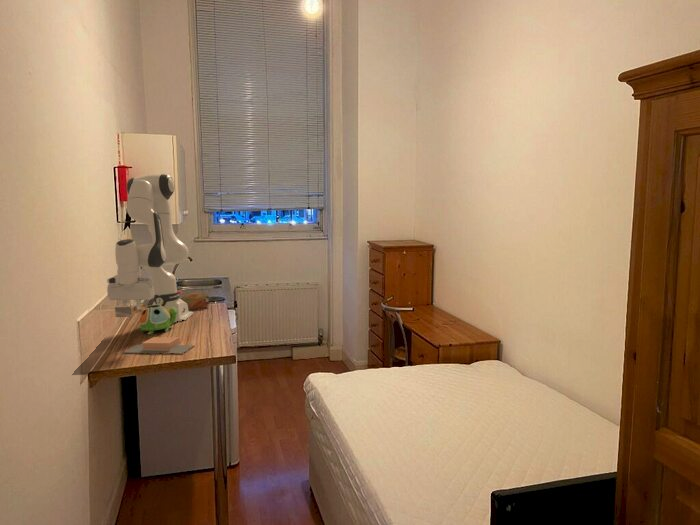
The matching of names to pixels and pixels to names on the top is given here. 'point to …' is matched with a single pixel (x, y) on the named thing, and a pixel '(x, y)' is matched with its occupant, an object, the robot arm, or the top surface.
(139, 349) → the mat
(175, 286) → the robot arm
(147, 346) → the tile
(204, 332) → the top surface
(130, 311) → the scraper
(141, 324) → the turtle holder
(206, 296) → the brown rounded slab
